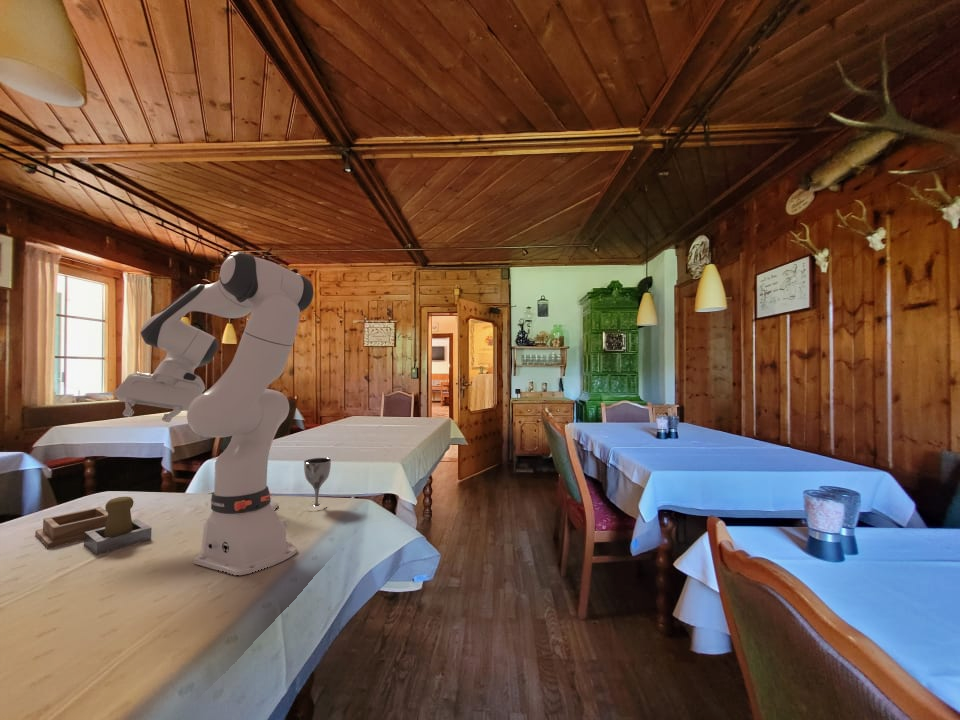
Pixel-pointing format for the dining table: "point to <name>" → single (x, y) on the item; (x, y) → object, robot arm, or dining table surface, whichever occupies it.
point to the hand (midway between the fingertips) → (146, 418)
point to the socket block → (116, 538)
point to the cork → (118, 516)
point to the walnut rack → (71, 526)
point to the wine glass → (317, 473)
